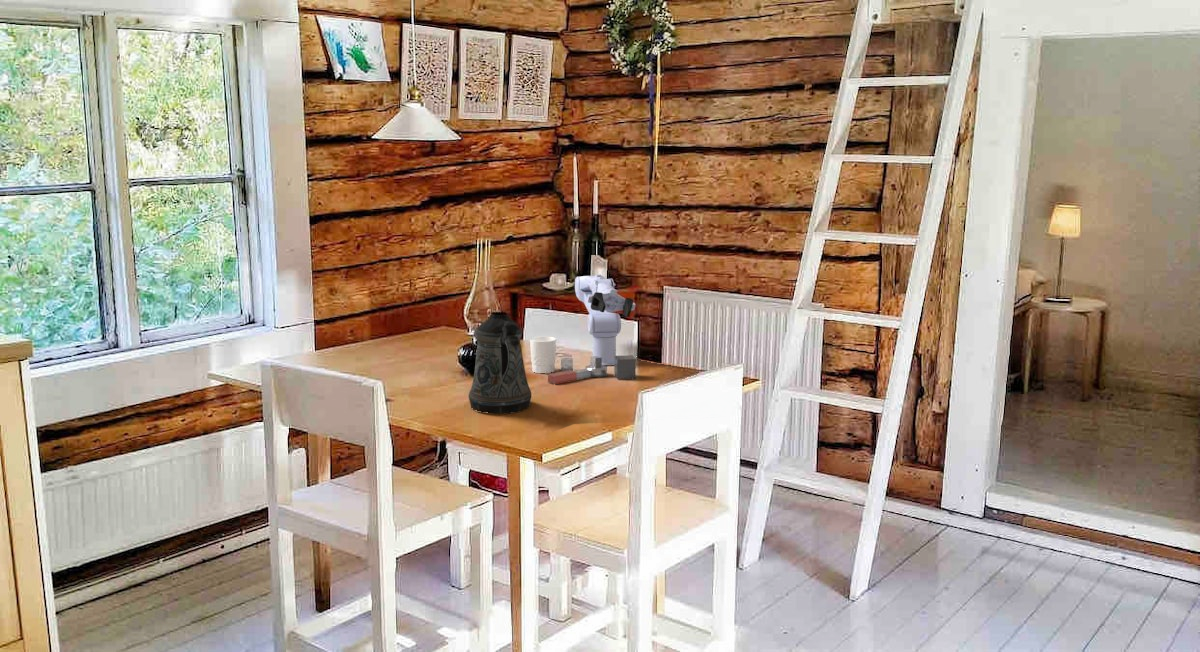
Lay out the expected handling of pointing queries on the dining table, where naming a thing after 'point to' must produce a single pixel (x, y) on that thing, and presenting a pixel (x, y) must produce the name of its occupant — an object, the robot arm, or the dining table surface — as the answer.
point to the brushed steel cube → (625, 367)
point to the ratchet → (580, 372)
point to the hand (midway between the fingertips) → (616, 311)
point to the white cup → (543, 354)
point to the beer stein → (499, 367)
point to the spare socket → (566, 364)
